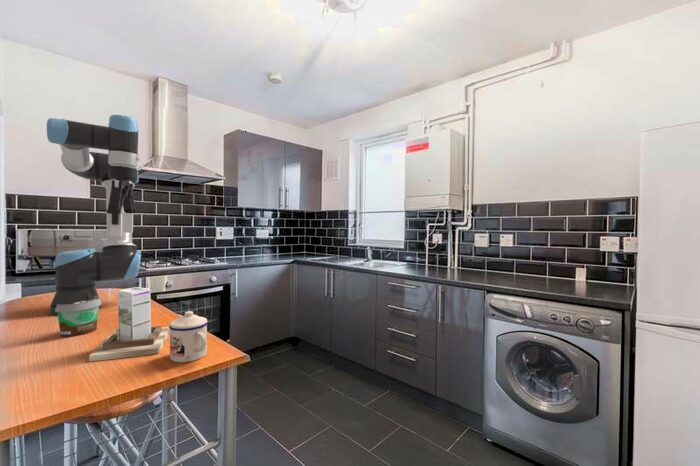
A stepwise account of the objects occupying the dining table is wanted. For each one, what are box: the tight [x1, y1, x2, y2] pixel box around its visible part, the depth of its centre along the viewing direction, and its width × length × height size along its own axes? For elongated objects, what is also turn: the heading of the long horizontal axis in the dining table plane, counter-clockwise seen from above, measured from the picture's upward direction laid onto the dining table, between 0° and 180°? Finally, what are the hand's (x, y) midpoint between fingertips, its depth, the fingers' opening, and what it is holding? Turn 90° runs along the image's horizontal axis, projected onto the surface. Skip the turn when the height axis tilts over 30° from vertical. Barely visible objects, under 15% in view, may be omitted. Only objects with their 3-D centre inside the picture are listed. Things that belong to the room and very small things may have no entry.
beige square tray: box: [88, 325, 170, 362], centre depth 90 cm, size 18×15×3 cm
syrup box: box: [117, 286, 152, 341], centre depth 90 cm, size 6×6×14 cm
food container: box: [55, 296, 102, 338], centre depth 99 cm, size 12×6×10 cm, turn 168°
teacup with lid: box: [168, 310, 209, 363], centre depth 83 cm, size 12×9×12 cm
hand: (122, 234), depth 101 cm, fingers open, 13 cm apart
